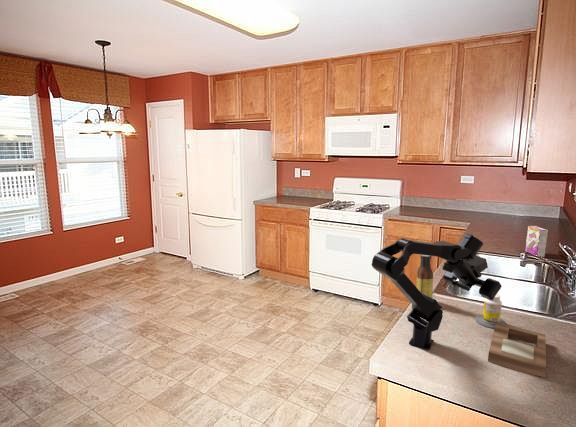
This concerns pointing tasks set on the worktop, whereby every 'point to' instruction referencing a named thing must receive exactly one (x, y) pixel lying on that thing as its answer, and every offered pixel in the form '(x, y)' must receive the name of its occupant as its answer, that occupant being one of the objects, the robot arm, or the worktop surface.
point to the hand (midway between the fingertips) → (480, 294)
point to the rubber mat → (480, 320)
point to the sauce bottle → (425, 276)
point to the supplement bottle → (492, 310)
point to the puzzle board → (518, 350)
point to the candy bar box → (536, 240)
